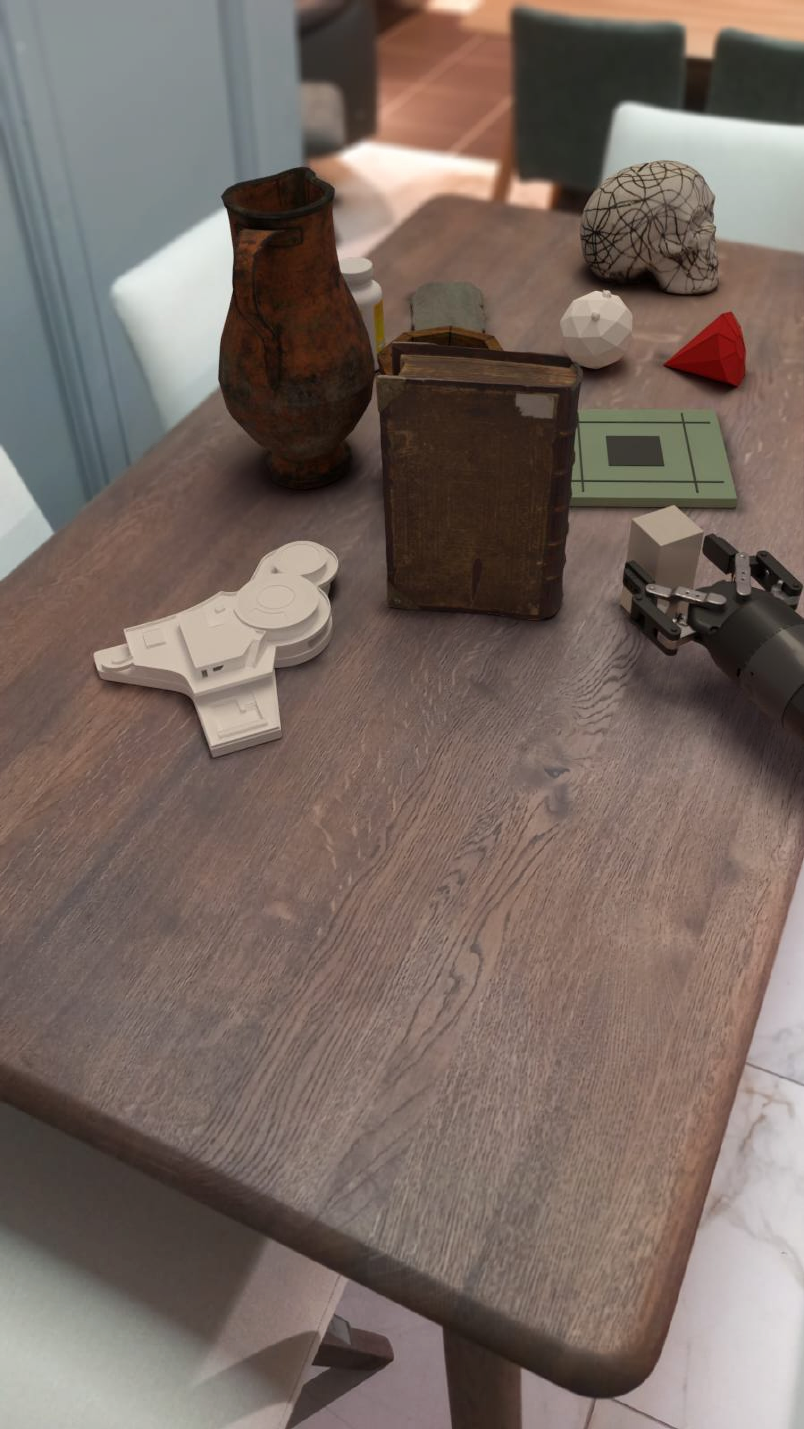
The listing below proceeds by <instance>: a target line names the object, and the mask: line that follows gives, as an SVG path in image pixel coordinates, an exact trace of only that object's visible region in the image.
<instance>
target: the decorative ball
mask: <svg viewBox="0 0 804 1429" xmlns="http://www.w3.org/2000/svg"><path fill="white" fill-rule="evenodd" d="M633 317H634V316H633V313H632V312H631V311H630V310H629V307H627V305H626V304H625V303H624V302H623V300H622V299H621V297H620V296H619V295H615V294H612V293H611V291H610V290H605V289H603V290H602V291H599V290H594V291H592V292H588V293H587V294H585V295H581V296H579V297H578V298H575V299H573V300H572V301H571V303H570V304H569V306H568V307H567V309H566V310H565V312H564V314H563V315H562V317H561V319H560V320H559V333H560V334H559V338H560V339H559V340H560V347H561V348H562V350H563V351H564V352H565V354H566V356H568V357H569V358H570V359H571V360H572V361H574V362H577V363H578V364H579V366H580V367H585V368H588V369H593V370H598V369H601V368H604V367H606V366H609V365H612V364H613V363H616V362H618V361H619V360H620V359H621V358H622V357H623V356H624V355H625V353H626V352H628V349H629V347H630V345H631V343H632V341H633V340H634V339H633V335H634V334H633V330H634V328H633V324H634V323H633V322H634V318H633Z"/></svg>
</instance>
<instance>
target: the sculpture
mask: <svg viewBox="0 0 804 1429" xmlns="http://www.w3.org/2000/svg"><path fill="white" fill-rule="evenodd" d="M715 202H716V195H715V194H714V192H713V191H712V190H711V188H710V186H709V184H708V183H707V181H706V180H705V177H704V176H703V175H702V174H701V173H700V172H699V171H698V170H697V169H695V168H693V167H692V166H691V165H688V164H686V163H684V162H681V161H678V160H677V161H676V160H669V159H662V160H661V159H660V160H656V161H650V162H643V163H638V164H634V165H631V166H628V167H624V168H622V169H620V170H619V171H617V172H616V173H614V174H612V175H611V176H608V178H606V179H605V180H604V181H603V182H602V183H601V184H600V185H599V186H598V187H597V188H596V189H595V190H594V192H592V194H591V196H590V197H589V199H588V201H587V202H586V204H585V206H584V208H583V212H582V215H581V220H580V227H579V237H580V246H581V251H582V252H581V253H582V255H583V258H584V261H585V263H586V264H587V266H588V268H589V269H590V270H591V271H592V273H593V274H594V275H595V276H596V278H598V279H599V280H600V281H602V282H607V283H610V284H628V285H629V284H630V285H634V284H635V285H636V284H639V283H648V282H653V283H654V284H655V285H656V286H658V287H659V289H660V290H661V291H662V292H666V293H672V294H679V295H681V294H682V295H703V294H705V293H711V292H713V291H714V290H716V288H717V287H718V285H719V282H720V275H719V272H718V271H719V270H718V269H719V264H720V263H719V256H718V249H717V241H716V233H717V232H716V231H717V226H716V225H715V223H714V221H715V215H714V214H715V213H714V206H715Z"/></svg>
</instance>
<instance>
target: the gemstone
mask: <svg viewBox="0 0 804 1429" xmlns="http://www.w3.org/2000/svg"><path fill="white" fill-rule="evenodd" d="M746 360H747V349H746V344H745V340H744V335H743V330H742V326H741V324H740V323H739V321H738V319H737V317H736V316H735V315H734V313H733V312H732V311H727V312H722V313H721V314H720V315H719V316H717V317H716V318H715V319H714V320H713V321H712V322H710V323H709V324H708V325H707V326H706V327H705V328H704V329H702V330H701V331H700V332H699V333H698V334H696V335H695V336H694V337H693V338H692V339H691V340H690V341H688V342H687V343H686V344H684V345H683V347H682V348H680V349H679V350H678V351H677V352H676V353H674V355H672V356H671V357H670V358H669V359H668V360H667V361H665V362H664V363H663V364H662V366H665V367H669V368H672V369H675V370H679V371H681V372H686V373H689V374H692V375H696V376H700V377H702V378H707V379H709V380H713V381H716V382H720V383H723V384H727V385H731V386H734V387H737V388H738V387H739V386H740V385H741V383H742V382H743V379H744V378H745V376H746V362H747V361H746Z"/></svg>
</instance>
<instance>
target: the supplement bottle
mask: <svg viewBox="0 0 804 1429" xmlns="http://www.w3.org/2000/svg"><path fill="white" fill-rule="evenodd" d="M338 260H339V259H338ZM339 265H340V271H341V273H342V275H343V277H344V279H345V281H346V283H347V285H348V287H349V289H350V291H351V293H352V295H353V297H354V299H355V301H356V303H357V306H358V308H359V311H360V314H361V316H362V319H363V321H364V324H365V326H366V329H367V331H368V334H369V339H370V343H371V348H372V352H373V357H374V361H375V372H376V371H379V364H378V359H377V353H379V352H380V351H381V350H382V349H383V348H385V347H386V346H387V345H386V333H385V315H384V300H383V290H382V287H381V285H380V284H379V283H378V282H377V281H375V280H374V279H372V278H373V275H374V268H373V267H374V266H373V262H372V261H371V260H370V259H368V258H365V257H360V256H354V257H353V256H352V257H345V258H342V259H340V260H339Z"/></svg>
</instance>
